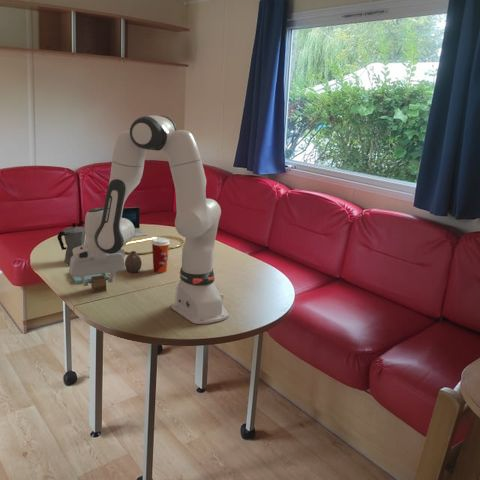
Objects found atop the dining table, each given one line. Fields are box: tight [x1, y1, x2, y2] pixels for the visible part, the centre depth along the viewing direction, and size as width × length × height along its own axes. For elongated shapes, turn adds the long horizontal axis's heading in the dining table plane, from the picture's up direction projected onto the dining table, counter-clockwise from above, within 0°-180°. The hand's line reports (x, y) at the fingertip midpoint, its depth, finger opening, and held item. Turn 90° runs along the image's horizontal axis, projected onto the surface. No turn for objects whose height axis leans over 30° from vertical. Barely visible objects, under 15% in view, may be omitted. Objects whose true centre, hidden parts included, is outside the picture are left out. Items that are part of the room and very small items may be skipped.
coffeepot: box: [57, 222, 86, 266], centre depth 208 cm, size 15×9×18 cm, turn 150°
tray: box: [68, 268, 110, 285], centre depth 197 cm, size 13×13×2 cm
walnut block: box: [90, 275, 107, 293], centre depth 185 cm, size 4×4×5 cm
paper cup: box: [150, 238, 171, 274], centre depth 206 cm, size 8×8×14 cm
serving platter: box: [123, 235, 185, 256], centre depth 239 cm, size 19×35×2 cm, turn 133°
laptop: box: [122, 206, 148, 238], centre depth 254 cm, size 18×12×13 cm
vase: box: [124, 250, 143, 274], centre depth 204 cm, size 7×7×9 cm
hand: (98, 283), depth 185 cm, fingers open, 8 cm apart
